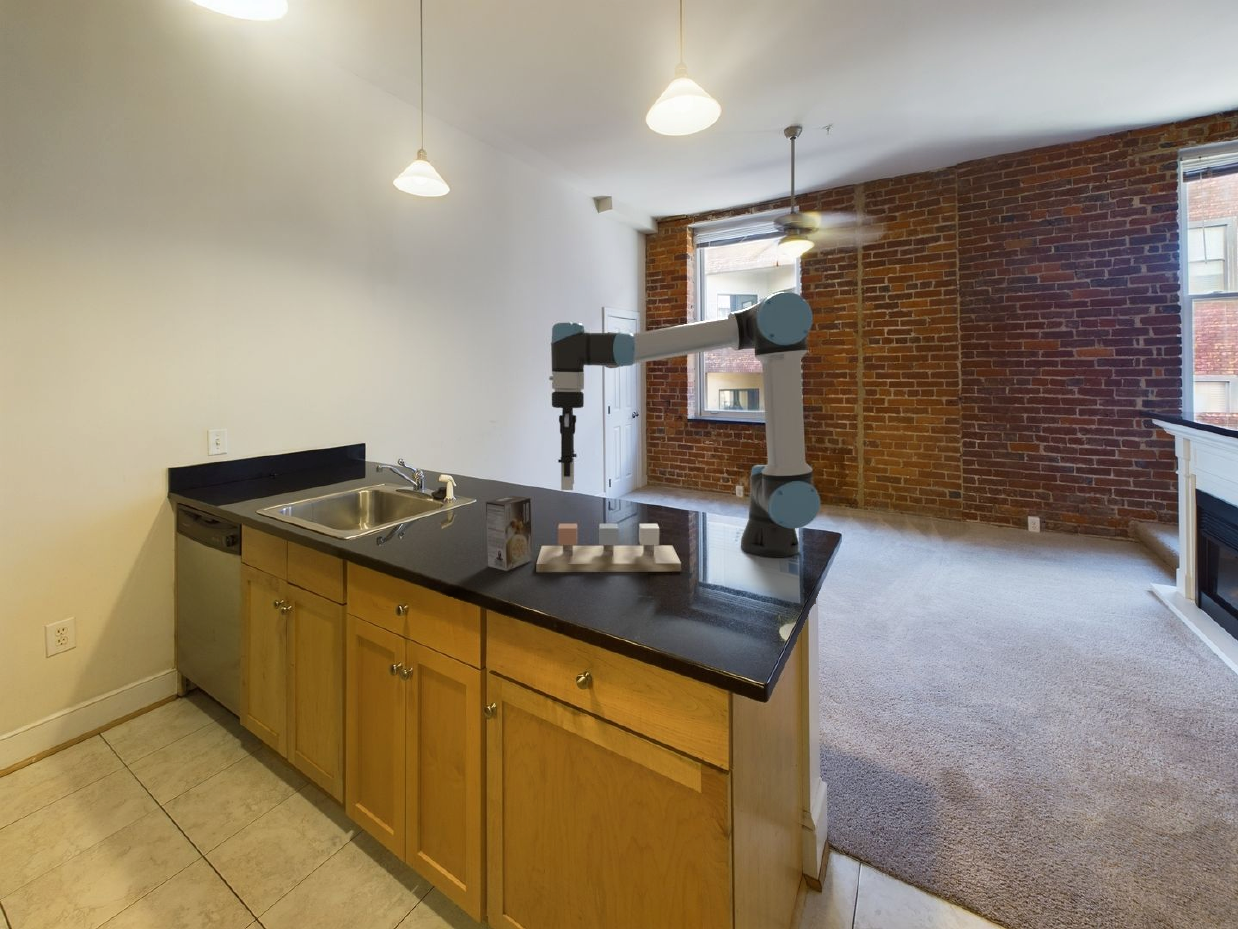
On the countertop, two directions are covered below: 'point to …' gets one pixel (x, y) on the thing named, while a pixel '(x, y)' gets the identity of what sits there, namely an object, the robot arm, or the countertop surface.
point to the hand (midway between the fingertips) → (567, 486)
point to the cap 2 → (649, 534)
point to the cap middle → (608, 534)
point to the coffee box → (509, 532)
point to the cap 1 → (567, 534)
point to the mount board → (608, 559)
